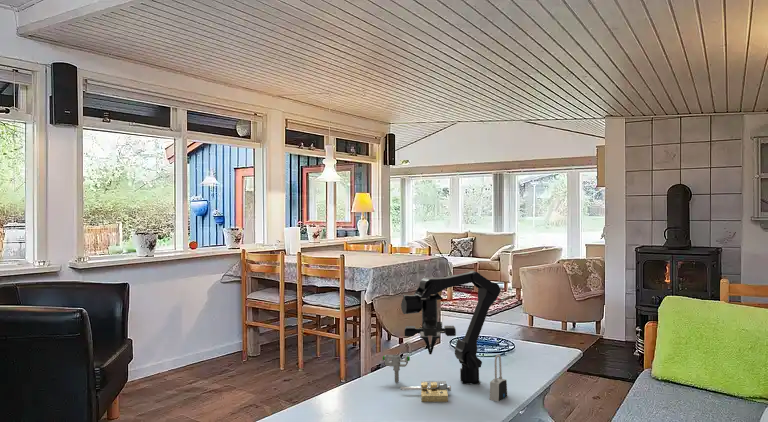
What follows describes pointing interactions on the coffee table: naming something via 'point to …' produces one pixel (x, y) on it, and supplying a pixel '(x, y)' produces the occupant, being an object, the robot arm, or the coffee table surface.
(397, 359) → the mechanical component
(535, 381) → the coffee table surface
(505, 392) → the padlock
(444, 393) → the loose leaf
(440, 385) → the fixed leaf
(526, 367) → the coffee table surface
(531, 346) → the coffee table surface
